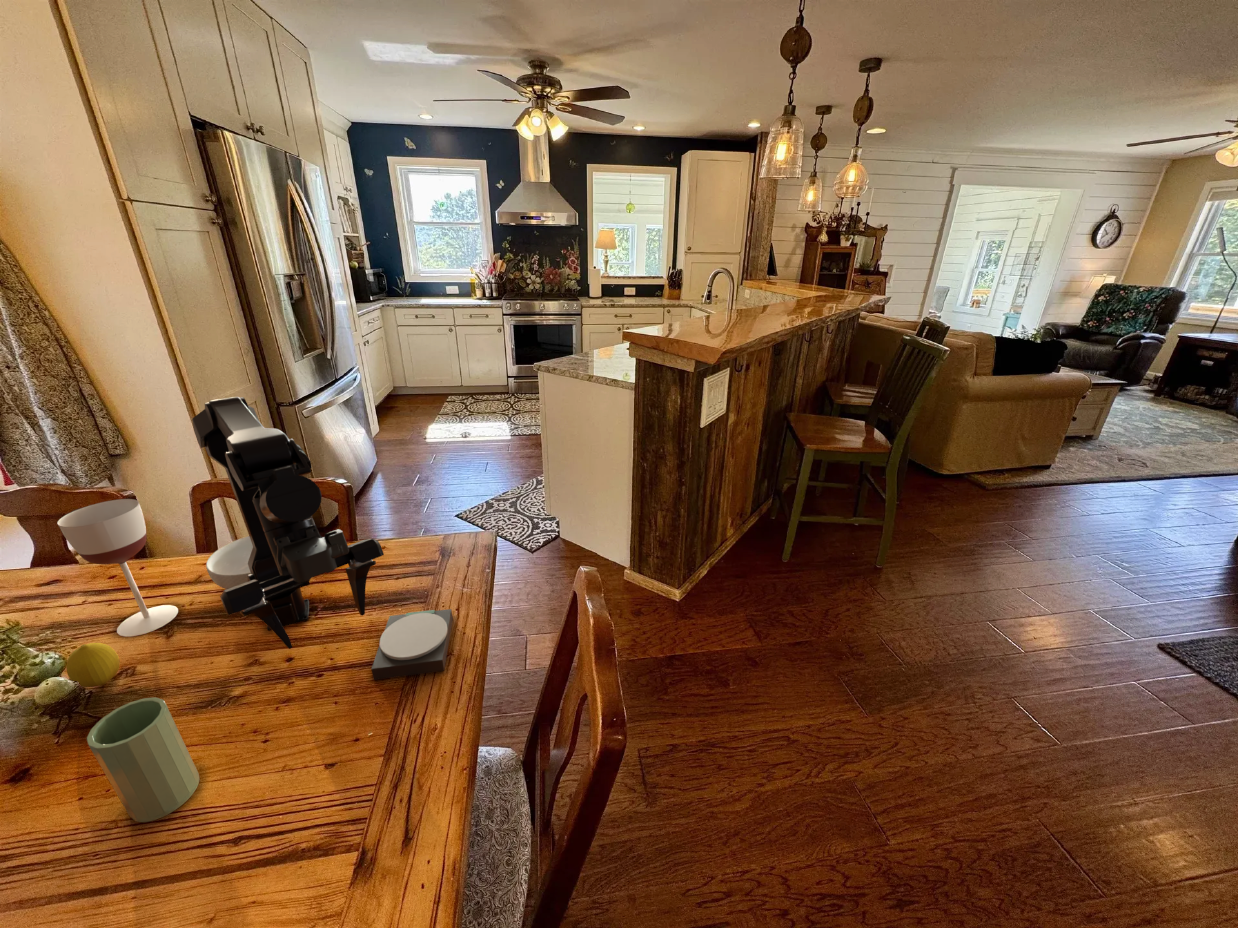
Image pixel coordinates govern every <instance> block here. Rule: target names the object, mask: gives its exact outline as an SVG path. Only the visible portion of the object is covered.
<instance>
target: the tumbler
mask: <svg viewBox="0 0 1238 928" xmlns="http://www.w3.org/2000/svg"><path fill="white" fill-rule="evenodd" d="M86 742H87V745H88V747H89V749H90V751H91V752H92V754H93V756H94V757H95V760H96V761H97V763H98V764H99V766H100V768H101V770H102V771H103V773H104V775H105V776H106V778H107V780H108V782H109V783H110V785H111V787H112V789H113V790H114V792H115V793H116V795H117V797H118V799H119V800H120V803H121V804H122V806H123V808H124V809H125V811H126V813H127V814H128V816H129V817H130V819H131V820H133V821H135V822H137V823H148V822H153V821H156V820H159V819H162V818H164V817H166V816H168V815H170V814H171V813H173V812H174V811H176V810H177V809H179V808H180V807H182V805H184V804H185V803H186V802H187V801H188V800H189V799H190V798H191V797H192V796H193V795H194V793H195V792H196V790H197V788H198V787H199V784H200V781H201V780H200V778H201V777H200V773H199V770H198V769H197V767H196V765H195V763H194V761H193V757H192V756H191V754H190V752H189V750H188V747H187V746H186V743H185V741H184V739H183V737H182V735H181V732H180V730H179V729H178V727H177V724H176V722H175V720H174V717H173V716H172V713H171V712H170V710H169V707H168V705H167V703H166V701H165V700H164V699H163V698H159V697H145V698H140V699H137V700H134V701H130V702H128V703H125V704H123V705H121V706H120V707H117V708H116V709H114V710H112V711H111V712H109V713H108V714H106V715H105V716H103V717H102V718H101V719H99V721H97V722H96V723H95V724H94V726H93V727H92V728H91V729H90V731H89V733H88V734H87V736H86Z"/></svg>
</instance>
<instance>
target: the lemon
mask: <svg viewBox="0 0 1238 928" xmlns="http://www.w3.org/2000/svg"><path fill="white" fill-rule="evenodd" d="M120 661H121V660H120V656H119V654H118V653H117V652H116V650H115V649H114V648H113V647H112V646H111V645H109V644H107V643H104V642H90V643H89V642H88V643H84V644H81V645H80V646H79V647H78V648H76V649H75V650H74V651H72V652H71V653H70V655H69V656H68V658H67V661H66V663H67V666H65V668H66V673H67V676H68V677H69V680H70V681H72V680H73V681H78V682H79V683H80V685H81V686H80V687H82V688H94V687H95V688H96V687H99V686H104V685H106V684H107V683H108V682H109V681H111V680H112V679H113V678H114V677H115V676H116V675H117V674H118V672H119V669H120ZM73 681H72V682H73Z"/></svg>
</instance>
